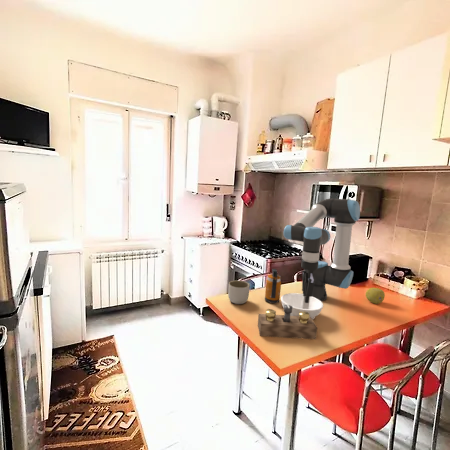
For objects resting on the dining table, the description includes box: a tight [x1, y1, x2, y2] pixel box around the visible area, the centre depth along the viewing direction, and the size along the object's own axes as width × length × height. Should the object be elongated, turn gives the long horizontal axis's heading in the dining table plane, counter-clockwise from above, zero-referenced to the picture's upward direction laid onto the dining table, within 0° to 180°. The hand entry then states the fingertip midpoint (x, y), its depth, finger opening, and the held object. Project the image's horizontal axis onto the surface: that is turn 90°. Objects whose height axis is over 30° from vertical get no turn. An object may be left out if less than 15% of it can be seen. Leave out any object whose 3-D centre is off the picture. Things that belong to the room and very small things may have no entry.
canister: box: [264, 268, 282, 304], centre depth 164 cm, size 9×11×20 cm
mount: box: [257, 313, 318, 340], centre depth 130 cm, size 26×10×6 cm, turn 89°
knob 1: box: [264, 309, 277, 321], centre depth 130 cm, size 5×5×9 cm
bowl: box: [280, 292, 324, 321], centre depth 149 cm, size 22×22×8 cm
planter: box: [227, 280, 251, 305], centre depth 162 cm, size 12×12×11 cm
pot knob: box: [283, 305, 292, 322], centre depth 129 cm, size 4×4×10 cm
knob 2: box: [299, 311, 310, 324], centre depth 130 cm, size 5×5×9 cm
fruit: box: [365, 287, 385, 305], centre depth 173 cm, size 10×11×10 cm
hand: (305, 308), depth 129 cm, fingers closed
